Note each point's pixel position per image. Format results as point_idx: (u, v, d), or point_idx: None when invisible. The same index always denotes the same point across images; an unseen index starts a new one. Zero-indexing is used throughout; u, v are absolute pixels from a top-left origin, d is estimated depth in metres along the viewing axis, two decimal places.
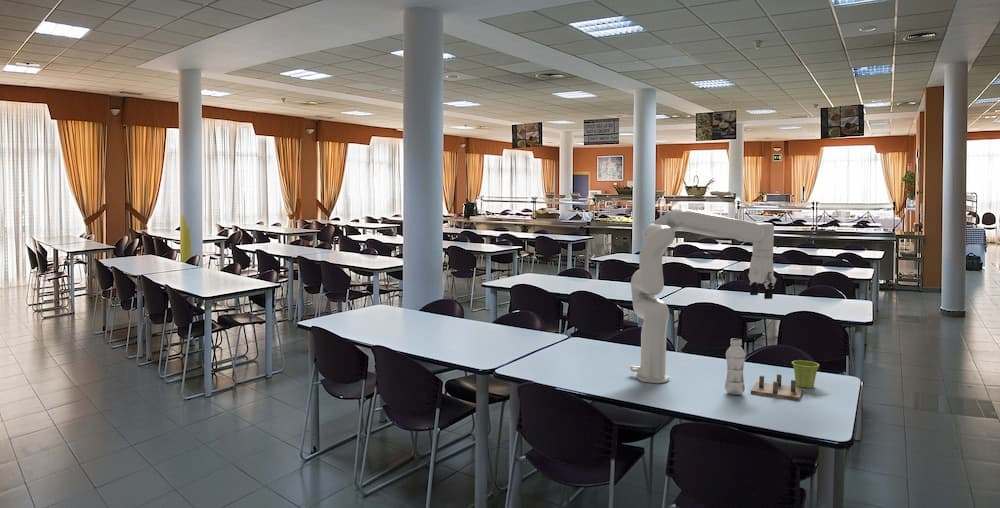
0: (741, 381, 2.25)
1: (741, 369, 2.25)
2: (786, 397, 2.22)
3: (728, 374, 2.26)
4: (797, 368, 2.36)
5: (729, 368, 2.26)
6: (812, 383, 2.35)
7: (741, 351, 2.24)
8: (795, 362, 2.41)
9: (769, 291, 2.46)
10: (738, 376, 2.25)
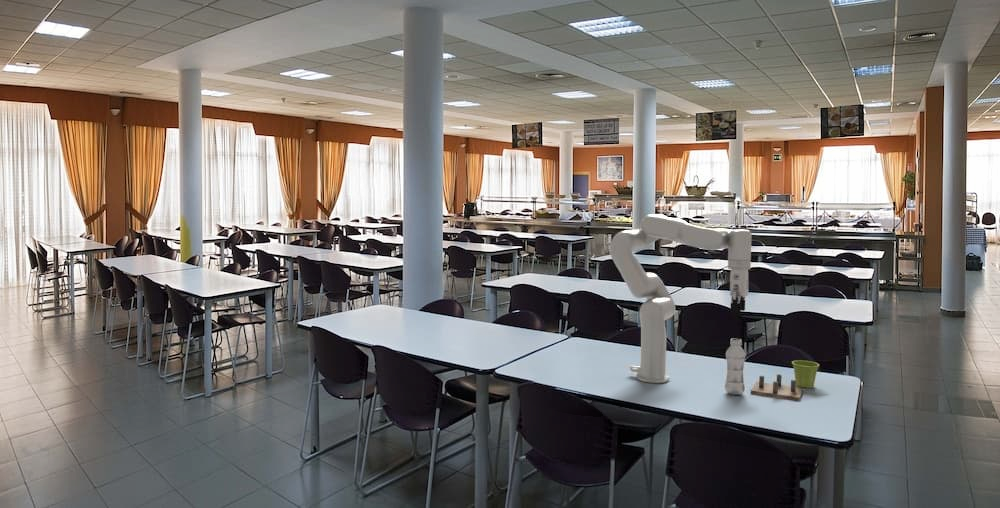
0: (741, 381, 2.25)
1: (741, 369, 2.25)
2: (786, 397, 2.22)
3: (728, 374, 2.26)
4: (797, 368, 2.36)
5: (729, 368, 2.26)
6: (812, 383, 2.35)
7: (741, 351, 2.24)
8: (795, 362, 2.41)
9: None
10: (738, 376, 2.25)
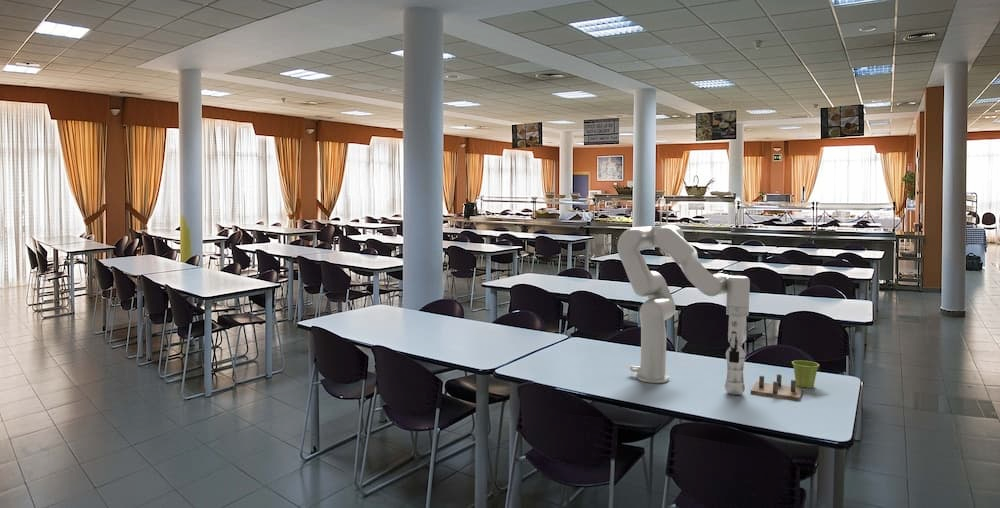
0: (741, 381, 2.25)
1: (741, 369, 2.25)
2: (786, 397, 2.22)
3: (728, 374, 2.26)
4: (797, 368, 2.36)
5: (729, 368, 2.26)
6: (812, 383, 2.35)
7: (741, 351, 2.24)
8: (795, 362, 2.41)
9: None
10: (739, 376, 2.25)
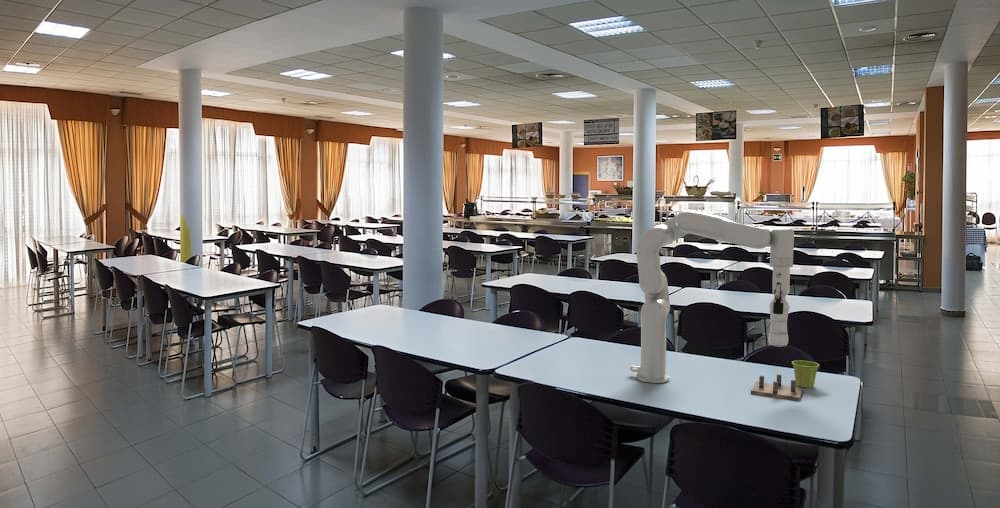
0: (785, 333, 2.25)
1: (785, 321, 2.25)
2: (786, 397, 2.22)
3: (772, 326, 2.27)
4: (797, 368, 2.35)
5: (773, 320, 2.26)
6: (812, 383, 2.35)
7: (785, 303, 2.25)
8: (795, 362, 2.41)
9: None
10: (783, 328, 2.25)
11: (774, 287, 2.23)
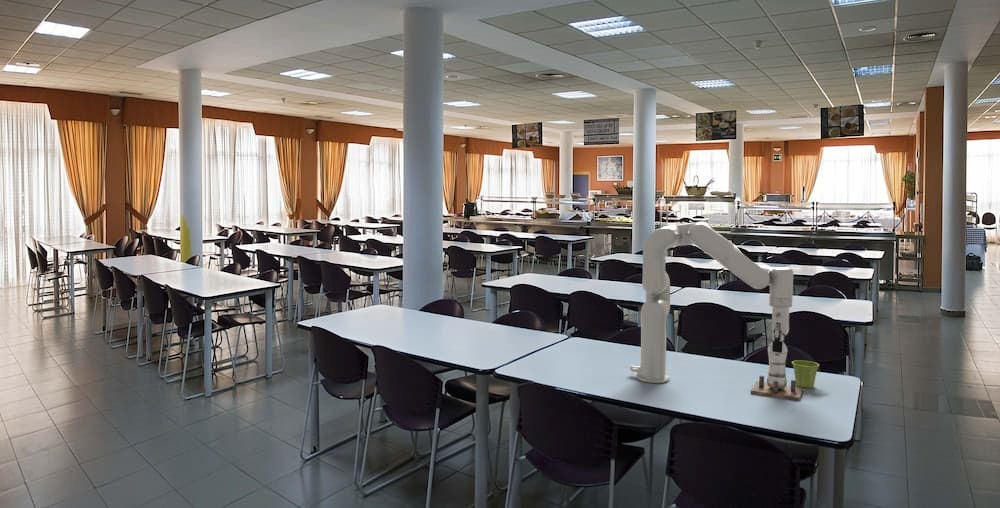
0: (783, 376, 2.27)
1: (783, 364, 2.27)
2: (786, 397, 2.22)
3: (770, 369, 2.29)
4: (797, 368, 2.36)
5: (771, 363, 2.28)
6: (812, 383, 2.35)
7: (783, 346, 2.26)
8: (795, 362, 2.41)
9: None
10: (781, 371, 2.27)
11: (773, 327, 2.24)
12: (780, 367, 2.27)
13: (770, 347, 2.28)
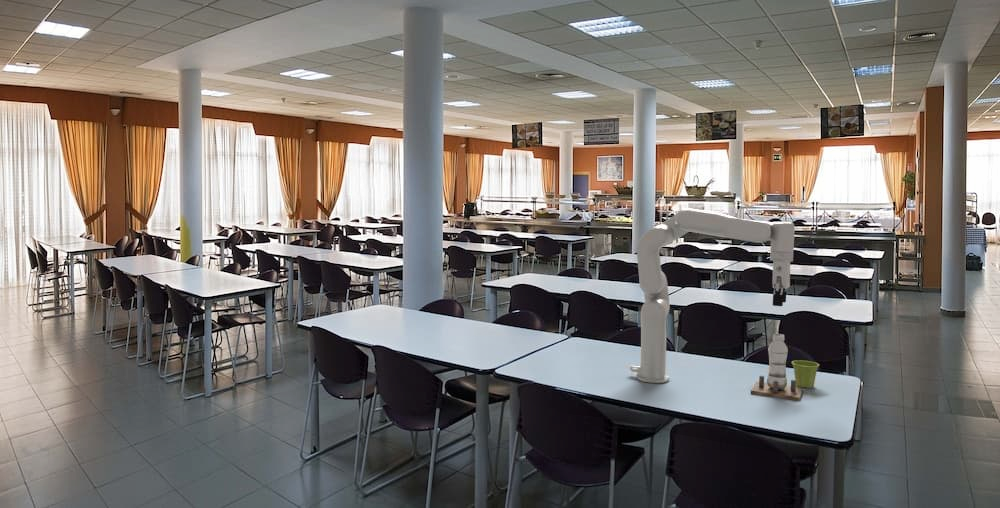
0: (784, 376, 2.27)
1: (784, 364, 2.27)
2: (786, 397, 2.22)
3: (770, 369, 2.29)
4: (797, 368, 2.36)
5: (772, 363, 2.28)
6: (812, 383, 2.35)
7: (784, 346, 2.26)
8: (795, 362, 2.41)
9: None
10: (781, 371, 2.27)
11: (774, 281, 2.23)
12: (780, 367, 2.27)
13: (770, 347, 2.28)
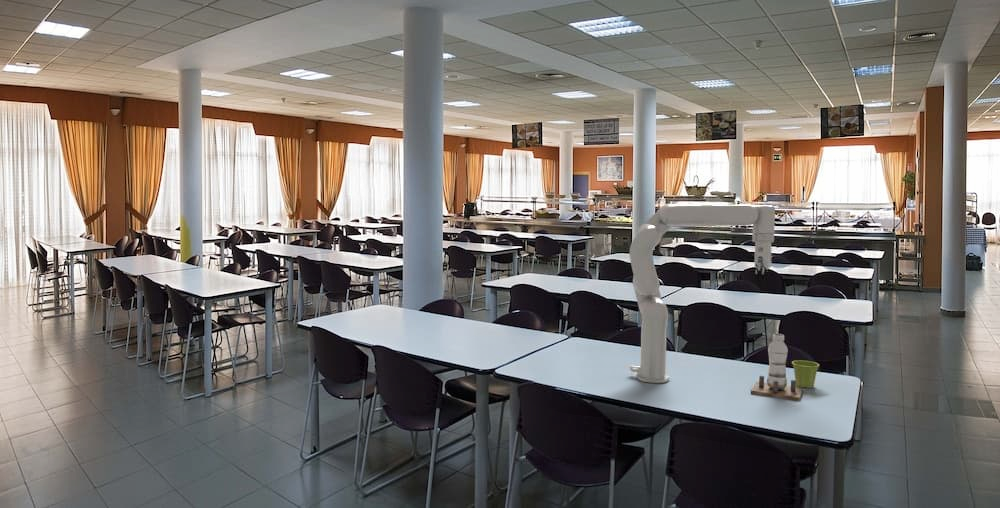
0: (784, 376, 2.27)
1: (784, 364, 2.27)
2: (786, 397, 2.22)
3: (770, 369, 2.29)
4: (797, 368, 2.35)
5: (771, 363, 2.28)
6: (812, 383, 2.35)
7: (784, 346, 2.26)
8: (795, 362, 2.41)
9: None
10: (781, 371, 2.27)
11: (756, 261, 2.35)
12: (780, 367, 2.27)
13: (770, 347, 2.28)
